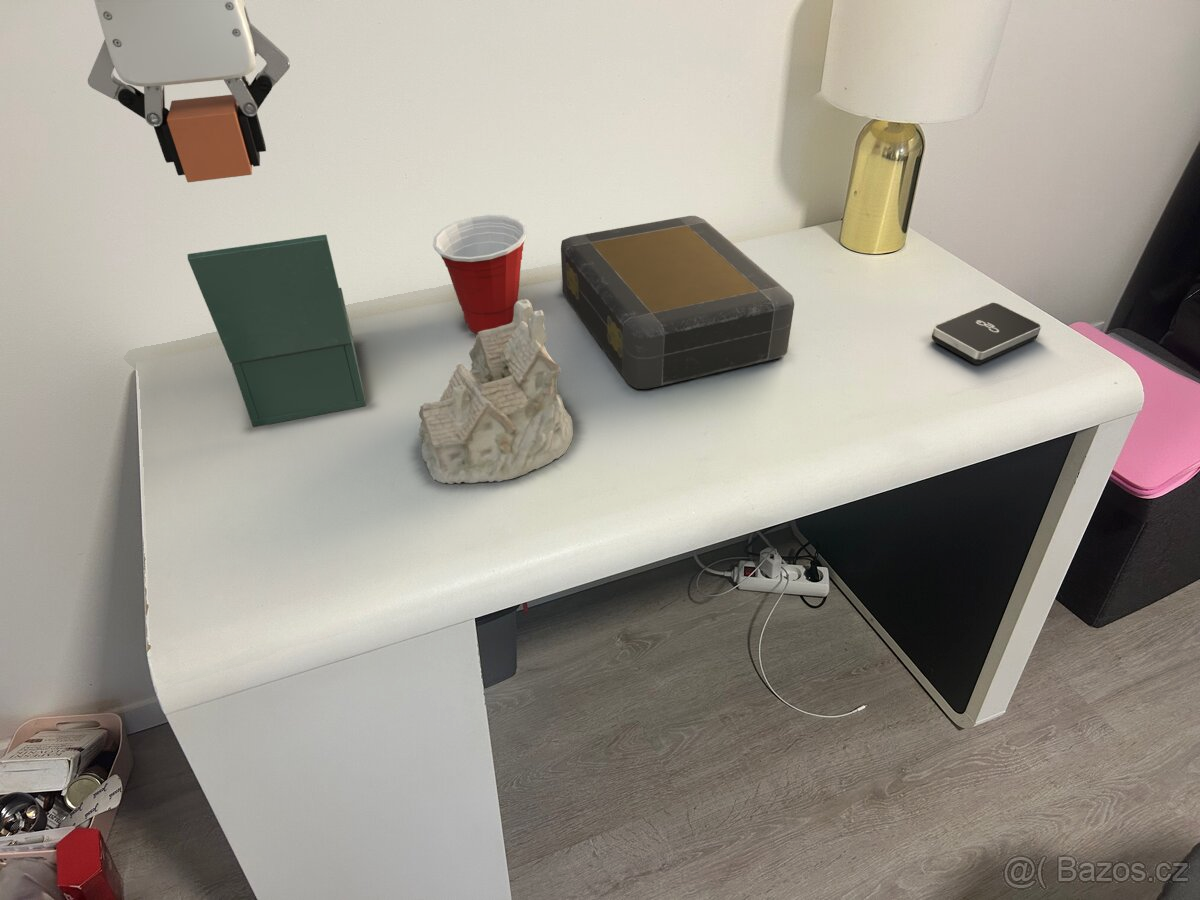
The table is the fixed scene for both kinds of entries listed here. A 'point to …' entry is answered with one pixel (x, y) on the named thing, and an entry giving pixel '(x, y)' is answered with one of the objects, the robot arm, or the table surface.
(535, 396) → the ceramic cottage
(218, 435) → the table surface
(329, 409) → the tin
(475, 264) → the plastic cup
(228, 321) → the lid
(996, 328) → the external hard drive
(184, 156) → the block
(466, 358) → the table surface
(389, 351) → the table surface
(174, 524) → the table surface
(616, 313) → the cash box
